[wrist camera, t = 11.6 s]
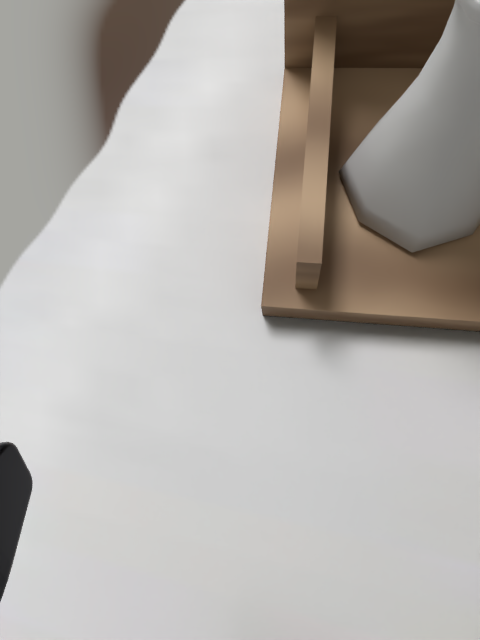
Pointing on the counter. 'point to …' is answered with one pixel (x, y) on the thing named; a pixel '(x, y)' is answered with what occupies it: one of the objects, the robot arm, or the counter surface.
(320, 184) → the spice stand
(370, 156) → the flask
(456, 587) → the counter surface
